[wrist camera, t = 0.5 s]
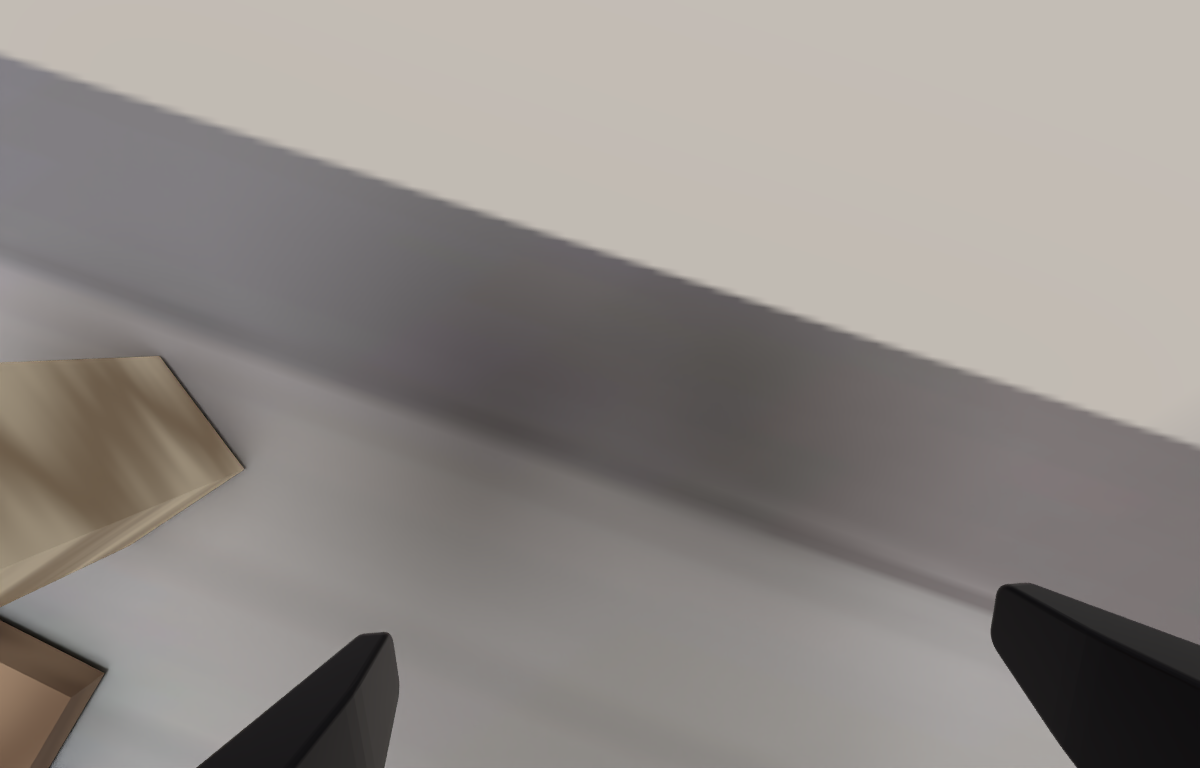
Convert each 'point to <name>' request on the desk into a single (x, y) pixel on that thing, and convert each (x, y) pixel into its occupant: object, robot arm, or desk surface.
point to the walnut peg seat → (38, 698)
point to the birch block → (95, 462)
